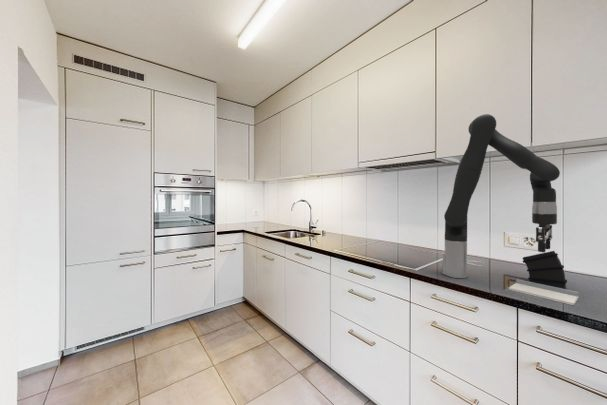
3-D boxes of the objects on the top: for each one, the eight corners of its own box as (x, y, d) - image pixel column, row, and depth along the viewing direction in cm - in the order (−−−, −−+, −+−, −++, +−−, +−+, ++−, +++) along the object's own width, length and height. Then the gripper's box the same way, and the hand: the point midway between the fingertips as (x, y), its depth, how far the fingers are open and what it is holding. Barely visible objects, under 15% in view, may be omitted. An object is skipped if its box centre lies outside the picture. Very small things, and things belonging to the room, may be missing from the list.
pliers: (481, 264, 132) (450, 259, 143) (481, 267, 132) (450, 262, 143) (485, 260, 139) (455, 256, 150) (485, 263, 139) (455, 258, 150)
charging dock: (508, 289, 100) (508, 284, 100) (516, 284, 106) (516, 278, 106) (573, 305, 86) (573, 298, 86) (578, 298, 92) (578, 292, 92)
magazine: (576, 288, 96) (553, 251, 101) (535, 293, 106) (516, 259, 111) (577, 286, 98) (555, 250, 103) (537, 291, 108) (518, 258, 113)
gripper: (536, 211, 111) (536, 246, 112) (527, 213, 103) (527, 251, 104) (560, 211, 105) (560, 249, 106) (552, 213, 97) (552, 254, 97)
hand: (544, 250), depth 105 cm, fingers open, 8 cm apart
